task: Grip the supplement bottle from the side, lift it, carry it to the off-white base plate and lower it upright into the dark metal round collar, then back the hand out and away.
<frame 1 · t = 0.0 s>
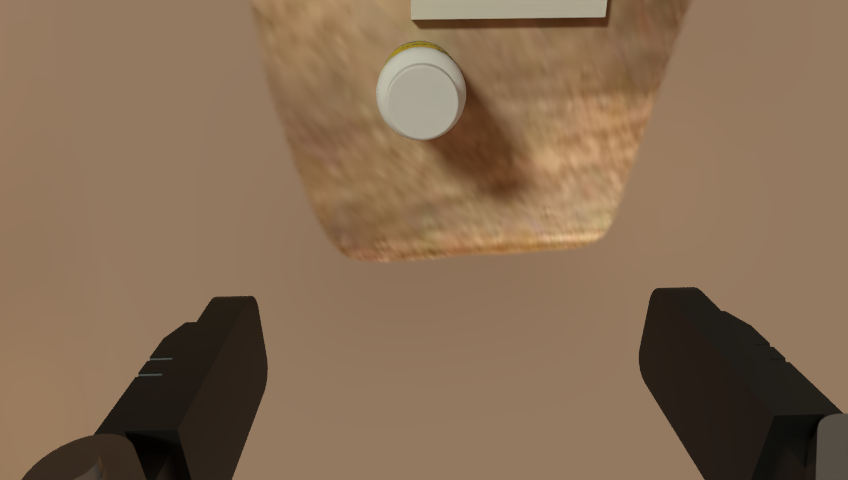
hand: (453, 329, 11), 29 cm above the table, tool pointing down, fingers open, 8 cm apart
supplement bottle: (419, 79, 37), on the table
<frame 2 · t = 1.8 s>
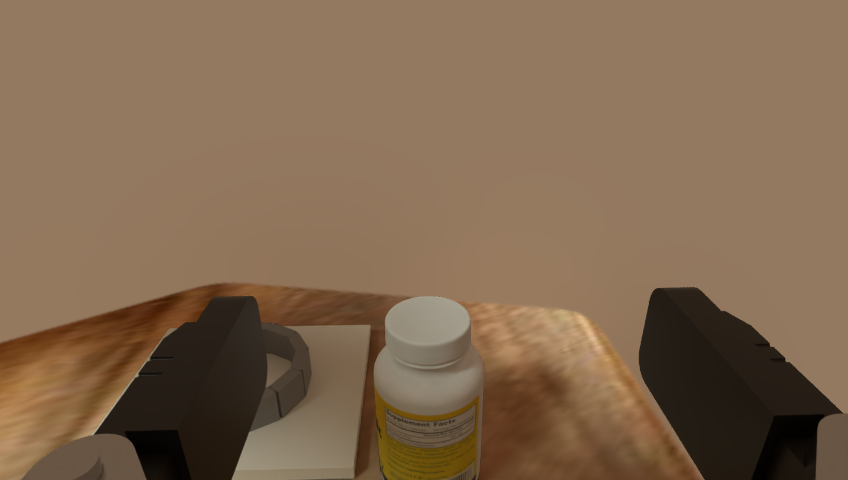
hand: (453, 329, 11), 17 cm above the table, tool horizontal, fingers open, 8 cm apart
socket plate: (247, 395, 33), on the table
supplement bottle: (429, 471, 28), on the table
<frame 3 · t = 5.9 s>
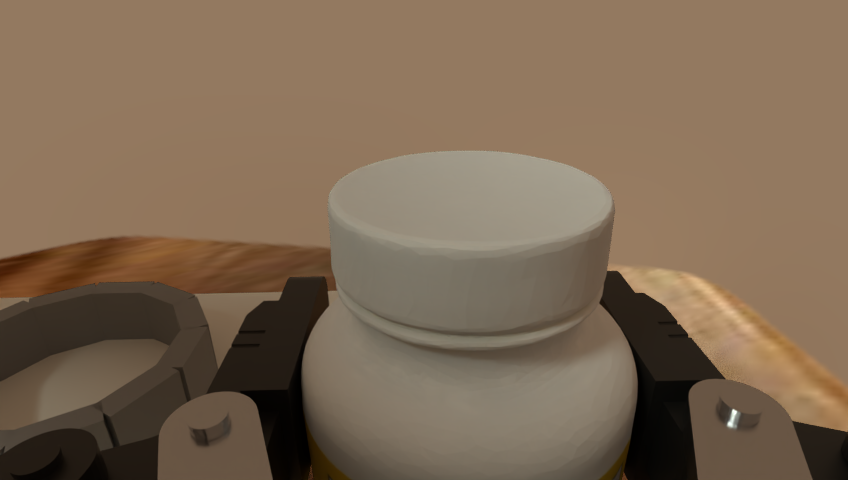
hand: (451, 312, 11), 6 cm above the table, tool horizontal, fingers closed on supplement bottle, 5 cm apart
socket plate: (86, 419, 17), on the table
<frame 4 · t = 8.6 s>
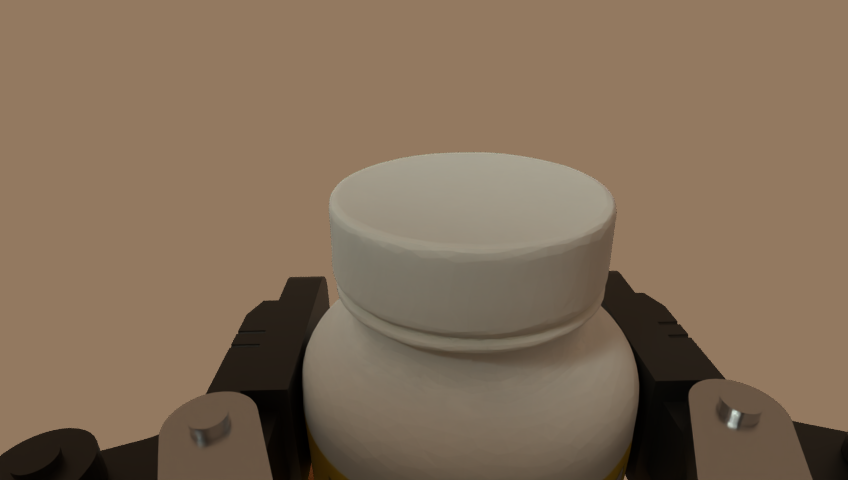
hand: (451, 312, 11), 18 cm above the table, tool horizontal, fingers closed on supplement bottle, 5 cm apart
when the fingers open (8 cm above the table, at t = 11.6 s): supplement bottle stays where it is, resting on socket plate.
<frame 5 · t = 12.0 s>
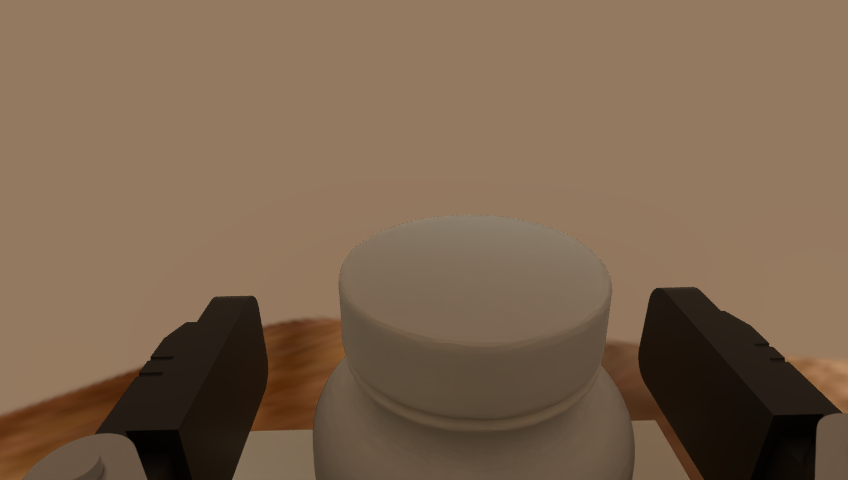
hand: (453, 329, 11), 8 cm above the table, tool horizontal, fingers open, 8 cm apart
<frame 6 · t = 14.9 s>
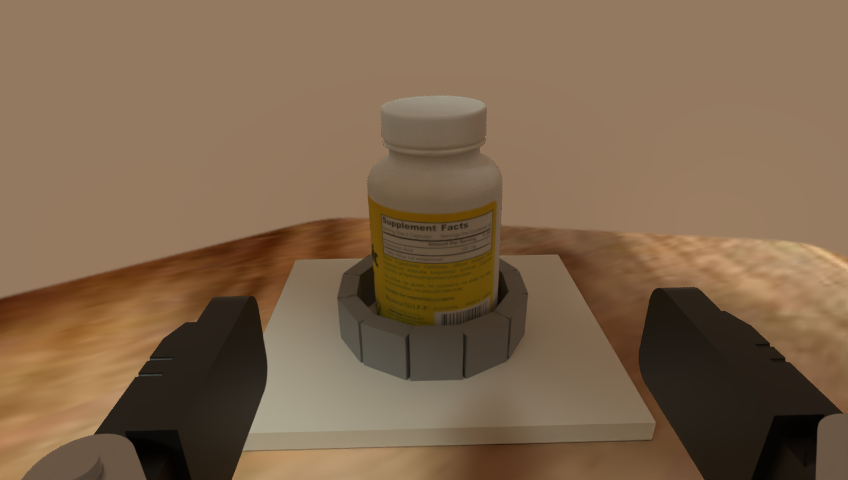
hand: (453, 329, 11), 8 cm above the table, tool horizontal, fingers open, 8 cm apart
socket plate: (432, 335, 24), on the table
supplement bottle: (435, 326, 24), point 1 cm above the table, touching socket plate
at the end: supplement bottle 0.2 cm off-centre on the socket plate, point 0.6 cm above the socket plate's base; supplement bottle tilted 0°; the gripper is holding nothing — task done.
